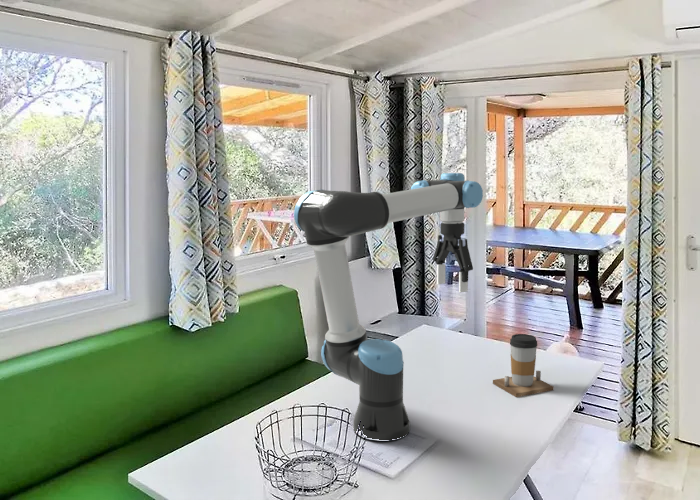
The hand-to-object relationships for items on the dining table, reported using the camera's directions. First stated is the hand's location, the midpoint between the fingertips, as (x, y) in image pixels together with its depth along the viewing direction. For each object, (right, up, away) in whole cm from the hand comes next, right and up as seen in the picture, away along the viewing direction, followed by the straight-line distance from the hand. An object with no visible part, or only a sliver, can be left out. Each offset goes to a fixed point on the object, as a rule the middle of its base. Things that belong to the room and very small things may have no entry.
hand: (451, 287), depth 184 cm
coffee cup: (+22, -30, -3) cm, 37 cm away
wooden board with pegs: (+22, -31, -3) cm, 38 cm away
